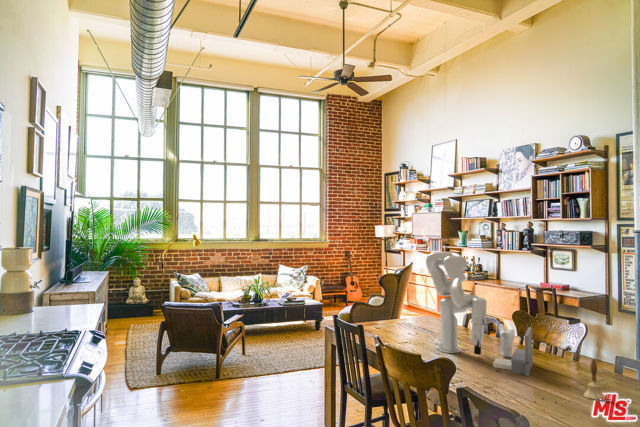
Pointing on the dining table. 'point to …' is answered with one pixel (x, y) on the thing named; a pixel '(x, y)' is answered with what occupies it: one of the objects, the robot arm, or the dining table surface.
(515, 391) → the dining table surface
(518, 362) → the gray l-shaped bracket
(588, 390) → the hand bell
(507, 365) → the ceramic tile
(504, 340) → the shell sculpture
